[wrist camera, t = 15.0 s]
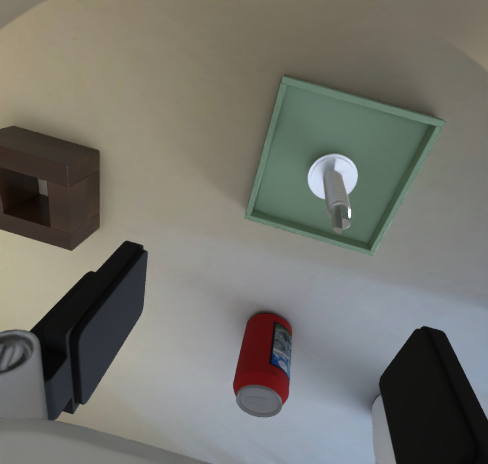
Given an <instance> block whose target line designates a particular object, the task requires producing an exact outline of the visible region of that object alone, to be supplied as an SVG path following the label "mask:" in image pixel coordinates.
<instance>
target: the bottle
mask: <svg viewBox="0 0 488 464" xmlns="http://www.w3.org/2000/svg"><path fill="white" fill-rule="evenodd" d="M372 424H373V446H374V454H375V463H376V464H396V461H395V456H394V452H393V447H392V442H391V438H390V433H389V429H388V424H387V420H386V415H385V410H384V406H383V401H382V397H381V395H379V396H378V397H377V398H376V400H375V401H374V403H373V405H372Z"/></svg>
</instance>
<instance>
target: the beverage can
mask: <svg viewBox="0 0 488 464" xmlns="http://www.w3.org/2000/svg"><path fill="white" fill-rule="evenodd" d="M291 344H292V330H291V327H290V325H289V324H288V323H287V322H286V321H285V320H284V319H283V318H281V317H279V316H277V315H274V314H259V315H256V316H254V317H252V318H251V319H250V320H249V321H248V323H247V325H246V329H245V333H244V337H243V341H242V346H241V350H240V355H239V359H238V364H237V368H236V373H235V378H234V382H233V389H234V392H235V395H236V402H237V404H238V406H239V407H240V408H241V409H242V410H243V411H244V412H246V413H248V414H250V415H253V416H257V417H271V416H274V415H276V414H278V413H279V412H280V411H281V408H282V406H283V404H284V403H285V402H286V400H287V398H288V395H289V382H290V365H291Z"/></svg>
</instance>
